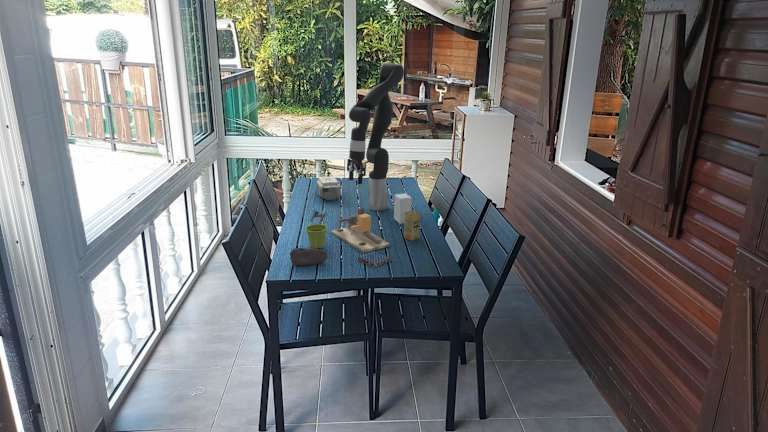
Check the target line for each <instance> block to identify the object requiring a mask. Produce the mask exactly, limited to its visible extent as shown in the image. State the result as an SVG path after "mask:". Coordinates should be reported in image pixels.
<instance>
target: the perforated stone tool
mask: <svg viewBox="0 0 768 432" xmlns="http://www.w3.org/2000/svg"><path fill="white" fill-rule="evenodd" d="M289 256H290V257H289V259H290V262H291V264H292V265H293V266H300V267H301V266H311V265H317V264H322V263H325V262H326V261H327V260H328V259H329V256H328V253H327V252H326V251H324V250H322V249H320V248H316V249H314V248H311V247H309V248H307V247H305V248H304V247H297V248H292V250H291V251H290V252H289Z"/></svg>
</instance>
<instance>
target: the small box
mask: <svg viewBox="0 0 768 432" xmlns="http://www.w3.org/2000/svg"><path fill="white" fill-rule="evenodd" d="M393 197H394V199H393V200H394V201H393V219H394V220H395V221H396V222H397V223H398V224H399V225H401V224H403V225H404V214H405V213H406V212H409V211H413V210H412V207H413V206H412V205H413V202H412V201H413V197H411V196H410V195H408V194H407V193H397V194H396V193H395V194H394V195H393Z"/></svg>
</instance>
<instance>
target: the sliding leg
mask: <svg viewBox="0 0 768 432" xmlns="http://www.w3.org/2000/svg"><path fill="white" fill-rule="evenodd" d="M357 216H358V225H355V226H351V227H350V229H351V235H353V229H355V228H358V230H359V231H361V232H367V231H369V232H371V230H372V228H371V227H372V224H371V223H372V222H371V221H372V216H371V215H369V214H367V213H363V214H362V215H358V214H357Z"/></svg>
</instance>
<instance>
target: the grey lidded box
mask: <svg viewBox="0 0 768 432" xmlns="http://www.w3.org/2000/svg"><path fill="white" fill-rule="evenodd" d="M316 184H317V187H316V188H317V193H318V196H319V197H321V198H322V199H323V200H324V201H325V200H327V201H336V199H337V198H340V196H341V185H340V183H339V181H338V180H337V179H336V178H335V176H332V175H331V176H318V178H317V180H316Z"/></svg>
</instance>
